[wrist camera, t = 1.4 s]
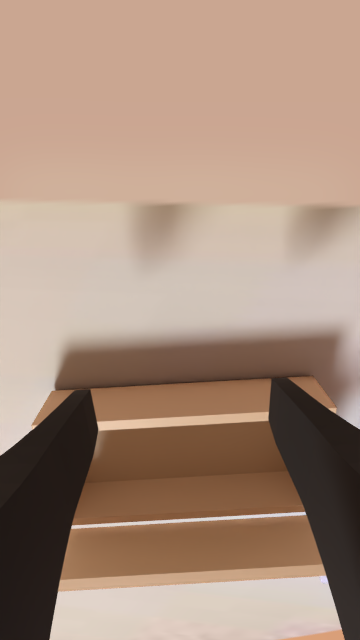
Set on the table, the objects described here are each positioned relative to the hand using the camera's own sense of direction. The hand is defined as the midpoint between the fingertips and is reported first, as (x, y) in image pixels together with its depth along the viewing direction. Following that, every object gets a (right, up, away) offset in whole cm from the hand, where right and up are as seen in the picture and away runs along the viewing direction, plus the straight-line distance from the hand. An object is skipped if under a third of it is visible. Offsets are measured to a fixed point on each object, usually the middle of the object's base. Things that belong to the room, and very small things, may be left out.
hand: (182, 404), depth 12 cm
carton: (0, -4, +8) cm, 9 cm away
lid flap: (+1, -9, +5) cm, 10 cm away
